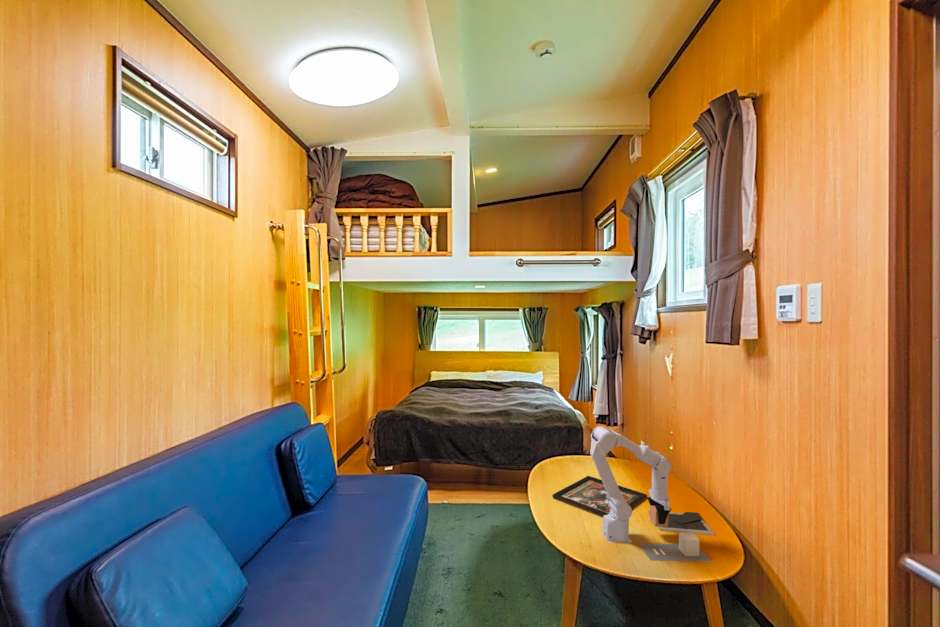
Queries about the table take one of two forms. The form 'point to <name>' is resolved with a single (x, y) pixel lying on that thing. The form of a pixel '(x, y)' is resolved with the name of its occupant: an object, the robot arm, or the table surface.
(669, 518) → the picture frame
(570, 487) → the framed painting
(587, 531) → the table surface
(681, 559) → the grey board
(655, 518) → the terracotta block
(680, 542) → the tan block
